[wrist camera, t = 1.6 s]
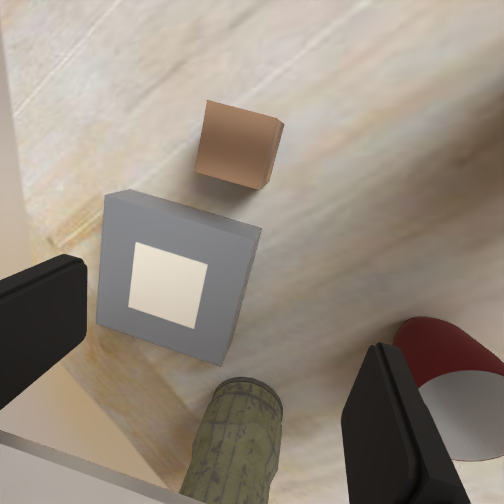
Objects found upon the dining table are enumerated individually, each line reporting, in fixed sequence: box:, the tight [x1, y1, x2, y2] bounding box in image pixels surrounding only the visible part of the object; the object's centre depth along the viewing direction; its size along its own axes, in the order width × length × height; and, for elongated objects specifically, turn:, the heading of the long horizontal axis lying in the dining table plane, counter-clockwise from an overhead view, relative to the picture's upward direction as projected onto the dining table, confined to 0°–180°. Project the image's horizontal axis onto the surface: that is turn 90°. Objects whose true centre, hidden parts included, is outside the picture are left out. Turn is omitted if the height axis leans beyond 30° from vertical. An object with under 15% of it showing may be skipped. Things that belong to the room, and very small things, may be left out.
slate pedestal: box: [96, 189, 262, 367], centre depth 31 cm, size 14×14×4 cm
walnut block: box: [195, 100, 284, 190], centre depth 25 cm, size 5×5×6 cm
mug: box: [392, 317, 504, 461], centre depth 25 cm, size 10×8×10 cm
